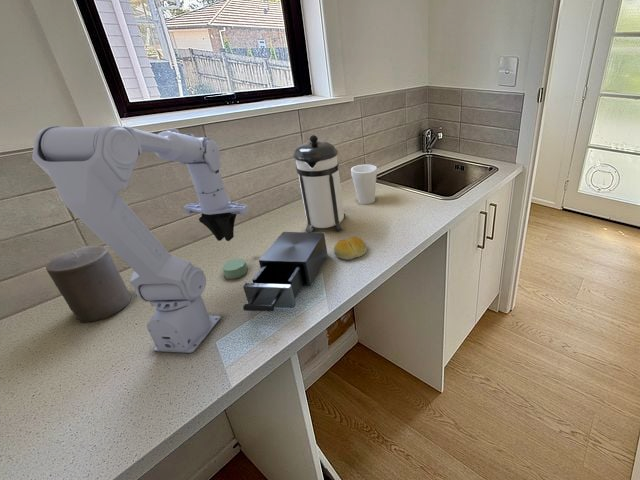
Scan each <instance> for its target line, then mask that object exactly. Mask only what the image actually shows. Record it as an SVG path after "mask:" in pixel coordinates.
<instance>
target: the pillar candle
mask: <svg viewBox="0 0 640 480" xmlns="http://www.w3.org/2000/svg"><path fill="white" fill-rule="evenodd" d="M45 270H46V271H47V273H48V275H49V277H50V279H51V280H52V282H53V284H54V285H55V286H56V288H57V290H58V291H59V293H60V294H61V296H62V298H63V299H64V301H65V302H66V304H67V305H68V308H70V311H72V313H73V315H74V317H75V318H76V320H77V322H80V323H90V322H95V321H96V322H97V321H100V320H103V319H106V318H109V317H111V316H113V315H115V314H116V313H118V312H120V311H121V310H123V309H124V308H125V307H127V305H128V304H129V303H131V300H132V295H131V294H130V292H129V290H128V287H127V285H126V284H125V282H124V279H123V277H122V276H121V274H120V272H119V270H118V268H117V266H116V263H114V260H113V258H112V256H111V254H110V252H109V250H108V248H107V247H105V246H103V245H91V246H90V245H89V246H88V245H87V246H83V247H79V248H76V249H75V248H74V249H72V250H69V251H67V252H64V253H62V254H60V255H57V256H55V257H54V258H52V259H51V260H49V261H48V262H47V264H46V265H45Z"/></svg>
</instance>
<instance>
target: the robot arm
mask: <svg viewBox="0 0 640 480" xmlns="http://www.w3.org/2000/svg"><path fill="white" fill-rule="evenodd" d="M143 152H144V153H154V154H155V156H157V157H158V158H159V159H160V160H163V161H167V162H176V163H177V162H178V163H180V164H182V165H186V167H187V170H188V172H189V176H190V178H191V181H192V184H193V187H194V191H195V194H196V196H197V199H198V202H194V203H188V204H186V205H184V206H183V209H184V212H185V214H186V215H191V214H201V216H200V217H198V221H199V222H200V223H201V224H203V225H204V226H205V227H206V228H207V229H208V230H209V231H210V232H211V234H212V235H213V236H214V238H215V239H216V240H217V241H218V242H220V241H222V240H223V239H224V240H225V241H226V242H230V241H231V240H232V239H233V238H234V237H235V236H234V235H235V233H234V232H235V231H234V230H235V229H234V228H235V223H236V218H237V215H240V216H246V215H248V214H249V212H250V209H249V206H248V204H243V203H237V202H233V201H230V199H229V198H228V195H227V191H226V188H225V185H224V181H223V178H222V174H221V170H220V169H221V164H222V163H221V161H220V160H221V159H220V157H221V156H220V155H221V151H220V146H218V144H217V142H216V141H215V140H214V139H211V138H210V137H196V136H195V134H193V133H185V134H184V133H180V130H179V129H176V128H166V130H163V131H161V132H158V133H157V134H156V133H153V132H149V131H145V130H141V129H138V128H134V127H132V126H122V125H117V124H116V125H114V124H113V125H112V124H111V125H106V126H60V125H59V126H58V125H50V126H49V125H48V126H45V127H43V128H42V129H40V130H39V131H38V132H37V133H36V135H35V137H34V141H33V149H32V156H31V159H32V160H33V162H35V164H37V165H38V166H39V168H41V169H42V171H44V172H45V173H46V175H48V176H49V177H50V179H51V180H52V183H53V184H54V187H55V188H56V191H57V192H58V195H59V197H60V199H61V201H62V203H63V204H64V205H65V207H66V208H67V209H68V210H69V211H70V212H72V213H73V215H74V216H76V217H77V218H78V219H79V220H80V221H81V223H83V224H84V225H85V226H86V227H87V228H88V229H89V230H90V231H91V232H92V233H93V234H95V236H97V237H98V238H99V239H100V240H101V242H103V243H104V244H105V245H106V246H107V247H108V248H109V249H110V250H112V251H113V253H115V255H117V256H118V257H119V258H120V259H121V260H122V261H123V262H124V263H125V264H126V265H127V266H128V267H130V269H131V270H132V271H133V272H132V274H131V276H130V279H129V284H130V285H131V286H132V287H133V288H134V290H135V293H136V296H137V298H138V299H139V300H140V301H143V302H149V303H150V306H151V307H153V308H155V311H154V313H153V315H152V317H151V318H150V320H149V322H148V323H147V325H146V328H147V331H148V333H149V335H150V337H151V340H152V341H153V343H154V345H155V347H154V348H153V351H154V352H163V353H187V354H192V353H194V352H195V351H196V350H197V348H198V347H199V346H200V345H201V343H202V342H203V341H204V340H205V338H206V337H207V336H208V335H209V334H210V332H211V331H212V330H213V329H214V327H216V325H217V324H218V323H219V321H220V320H221V318H222V317H221V315H209V312H208V309H207V307H206V305H205V302H204V299H203V296H202V294H203V293H204V291H205V288H206V285H207V277H206V274H205V272H204V270H203V269H202V268H201V267H198V266H195V265H194V264H193V263H192V261H190V260H189V261H188V260H186V259H183V258H179V257H176V256H174V255H172V254H171V253H170V252H169V251H168V250H167V249H166V247H165V246H164V245H163V244H162V243H161V242H160V241H159V239H158V238H157V237H156V236H155V235H154V234H153V232H152V231H151V230H150V229H149V228H148V227H147V226H146V224H145V223H144V222H143V221H142V219H140V218H139V217H138V215H137V214H136V213H135V212H134V210H133V209H132V208H131V207H130V206H129V205H128V204H127V202H126V201H125V200H124V199H123V198H122V197H121V196H120V194H119V193H120V192H121V191H123V190H125V189H127V187H128V184H129V182H130V179H131V177H132V174H133V172H134V169H135V167H136V164H137V160H138V157H139V156H141V155H142V154H143Z"/></svg>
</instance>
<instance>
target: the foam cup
mask: <svg viewBox="0 0 640 480" xmlns="http://www.w3.org/2000/svg"><path fill="white" fill-rule="evenodd" d="M377 175H378V169H377V166H375V165H374V164H367V163H366V164H365V163H364V164H357V165H354V166H351V168H350V176H351V178H352V181H353V182H352V183H353V185H354V190H355V195H356V198H357V203H359V204H362V205H370V204H373V203H374V202H375V201H376V189H377V187H376V185H377Z"/></svg>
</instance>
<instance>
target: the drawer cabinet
mask: <svg viewBox="0 0 640 480" xmlns="http://www.w3.org/2000/svg"><path fill="white" fill-rule="evenodd" d="M328 257H329V255H328V249H327V242H326V236H325V232H311V233H309V232H306V231H305V232H304V231H302V232H301V231H282V232H281V233H280V234H279V236H278V237H277V238H276V239H275V241H273V243H272V244H271V245H270V246H269V247H268V249H267V250H266V251H265V252H264V253H263V254H262V256H261V257H260V258H259V259H258V264H259V268H260V269H261V268H262V267H263V266H264V265H265V264H266V263H276V264H303V266H304V271H305V276H306V282H305V283H304V285H303V287H302V288H304V287H305V288H311V287H312V285H313V283H314V281H316V278H317V277H318V274H319V272H320V271H321V269H322V267H323V265H324V263H325V262H326V260H327V258H328Z"/></svg>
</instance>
